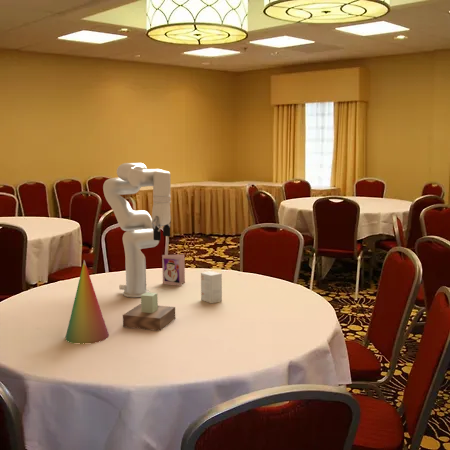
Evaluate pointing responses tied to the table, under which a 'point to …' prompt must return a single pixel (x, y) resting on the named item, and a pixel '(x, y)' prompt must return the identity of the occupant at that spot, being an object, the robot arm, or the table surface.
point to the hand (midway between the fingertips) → (161, 238)
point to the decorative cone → (86, 314)
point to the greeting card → (173, 269)
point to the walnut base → (149, 318)
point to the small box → (211, 287)
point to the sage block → (149, 302)
